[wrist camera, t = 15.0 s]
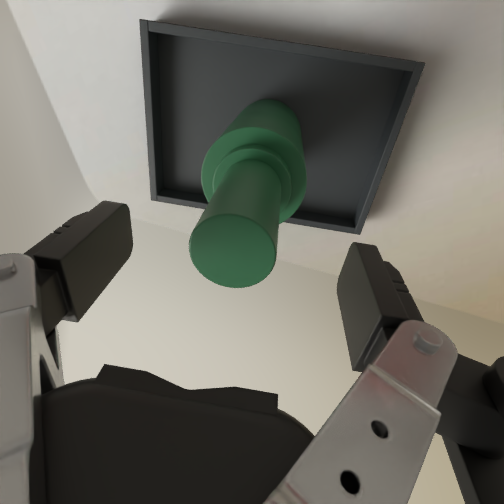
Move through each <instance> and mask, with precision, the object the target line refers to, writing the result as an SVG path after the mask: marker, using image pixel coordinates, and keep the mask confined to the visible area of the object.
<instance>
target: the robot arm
mask: <svg viewBox="0 0 504 504" xmlns="http://www.w3.org/2000/svg"><path fill="white" fill-rule="evenodd" d="M132 248H133V238H132V229H131V220H130V211H129V207H128V206H127V205H126V204H123V203H117V202H111V201H102V202H101V203H99V204H98V205H97V206H96V207H94V208H93V209H92V210H90V211H89V212H85V213H82V214H80V215H77V216H74V217H72V218H71V219H70V220H68V221H67V222H66V223H64V224H63V225H62V227H59V228H58V229H56V230H55V231H54V233H51V234H50V235H48V236H47V237H46V238H44V239H43V240H41V241H40V242H39V243H37V244H36V245H35V246H33V247H32V248H31V249H30V250H28V251H27V252H25V253H24V254H16V253H12V254H11V253H10V254H2V255H0V504H407V503H408V500H409V498H410V495H411V493H412V490H413V488H414V485H415V483H416V480H417V477H418V475H419V472H420V470H421V467H422V465H423V462H424V459H425V457H426V454H427V452H428V449H429V446H430V444H431V441H432V439H433V436H434V434H435V433H437V434H439V435H442V438H443V440H444V444H445V447H446V449H447V452H448V455H449V458H450V461H451V463H452V467H453V470H454V473H455V475H456V478H457V481H458V484H459V487H460V490H461V493H462V496H463V499H464V501H465V504H504V356H503V357H500V358H498V359H497V360H496V361H495V362H494V363H493V364H492V365H491V366H487V365H485V364H483V363H480V362H478V361H475V360H473V359H470V358H468V357H465V356H463V355H460V354H458V353H457V349H456V347H455V345H454V343H453V342H452V341H451V339H450V338H449V337H448V336H447V335H446V334H445V333H443V332H442V331H441V330H439V329H438V328H436V327H434V326H432V325H430V324H428V323H425V322H424V320H423V318H422V316H421V314H420V312H419V310H418V308H417V306H416V304H415V302H414V300H413V298H412V296H411V294H410V293H409V290H408V288H407V286H406V285H405V284H404V283H405V282H404V280H403V278H402V276H401V274H400V272H399V271H398V270H397V269H396V268H395V267H393V266H392V265H391V264H390V263H389V262H386V261H383V259H382V257H381V255H380V253H379V251H378V248H377V247H376V246H375V245H369V244H363V243H357V242H353V243H352V244H351V246H350V248H349V251H348V254H347V256H346V259H345V262H344V264H343V267H342V270H341V272H340V275H339V278H338V283H337V295H338V300H339V305H340V310H341V315H342V320H343V325H344V330H345V335H346V340H347V345H348V350H349V355H350V360H351V365H352V370H353V371H358V372H362V373H361V375H360V376H359V377H358V379H357V380H356V382H355V383H354V384H353V386H352V387H351V388H350V390H349V391H348V392H347V394H346V395H345V396H344V398H343V399H342V401H341V402H340V403H339V405H338V406H337V407H336V409H335V410H334V411H333V413H332V414H331V416H330V417H329V418H328V419H327V421H326V422H325V424H324V425H323V426H322V428H321V429H320V430H319V432H318V433H317V435H316V436H314V435H313V434H312V433H311V432H310V431H309V430H308V429H307V428H306V427H305V426H304V425H303V424H301V423H300V422H299V421H298V420H296V419H295V418H294V417H292V416H290V415H289V414H287V413H286V412H284V411H282V410H280V409H278V408H277V407H278V394H274V393H269V392H263V391H257V390H251V389H245V388H240V387H224V388H211V389H197V390H187V389H184V388H182V387H179V386H177V385H175V384H173V383H171V382H169V381H166V380H164V379H162V378H160V377H158V376H156V375H153V374H151V373H149V372H147V371H141V370H136V369H130V368H124V367H118V366H113V365H107V364H104V366H103V367H102V369H101V371H100V372H99V374H98V376H97V377H96V378H90V379H85V380H80V381H76V382H73V383H69V384H66V385H65V384H64V379H63V370H62V362H61V353H60V344H59V335H58V330H57V327H56V325H57V324H58V323H59V322H60V321H61V320H66V321H72V322H79V320H80V319H81V318H82V317H83V315H84V314H85V313H86V312H87V310H88V309H89V308H90V306H91V305H92V304H93V303H94V301H95V300H96V299H97V298H98V296H99V295H100V294H101V293H102V291H103V290H104V289H105V288H106V286H107V285H108V284H109V283H110V281H111V280H112V279H113V278H114V276H115V275H116V274H117V272H118V271H119V270H120V269H121V267H122V266H123V265H124V264H125V262H126V261H127V260H128V259H129V257H130V255H131V252H132Z"/></svg>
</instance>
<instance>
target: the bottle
mask: <svg viewBox="0 0 504 504" xmlns="http://www.w3.org/2000/svg"><path fill="white" fill-rule="evenodd" d="M201 182H202V188H203V191H204V194H205V197H206V199H207V201H208V202H209V203H208V205H207V207H206V209H205V211H204V212H203V214H202V216H201V218H200V219H199V221H198V223H197V225H196V227H195V228H194V230H193V232H192V234H191V236H190V240H189V252H190V257H191V259H192V262H193V264H194V265H195V267H196V268H197V270H198V271H199V272H200V273H201V274H202V275H203V276H204V277H206V278H207V279H208V280H210V281H212V282H214V283H216V284H218V285H222V286H225V287H231V288H244V287H249V286H252V285H255V284H257V283H259V282H260V281H262V280H263V279H265V278H266V277H267V276H268V275H269V274H270V272H271V271H272V269H273V267H274V265H275V261H276V255H277V242H278V228H279V224H280V223H282V222H284V221H285V220H287V219H288V218H289V217H291V216H292V215H293V214H294V213H295V211H296V210H297V209H298V207H299V206H300V204H301V203H302V200H303V198H304V195H305V192H306V187H307V173H306V165H305V157H304V149H303V142H302V134H301V127H300V123H299V121H298V118H297V117H296V115H295V113H294V112H293V111H292V110H291V109H290V108H289V107H288V106H287V105H285V104H284V103H282V102H280V101H277V100H273V99H263V100H258V101H255V102H253V103H251V104H250V105H248V106H247V107H246V108H245V109H244V110H243V111H242V112H241V113H240V114H239V115H238V116H237V117H236V119H235V120H234V121H233V122H232V123H231V124H230V125H229V126H228V128H227V129H226V130H225V131H224V132H223V133H222V134H221V135H220V137H219V138H218V139H217V140H216V141H215V142H214V143H213V145H212V146H211V147H210V149H209V150H208V152H207V154H206V156H205V158H204V161H203V165H202V171H201Z"/></svg>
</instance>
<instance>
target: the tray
mask: <svg viewBox="0 0 504 504" xmlns="http://www.w3.org/2000/svg"><path fill="white" fill-rule="evenodd" d="M139 21H140V36H141V52H142V68H143V83H144V99H145V114H146V130H147V145H148V161H149V176H150V192H151V200H153V201H159V202H165V203H171V204H177V205H183V206H189V207H195V208H201V209H206V207H207V205H208V203H209V202H208V201H207V199H206V197H205V194H204V191H203V188H202V182H201V171H202V165H203V161H204V158H205V156H206V154H207V152H208V150H209V149H210V147H211V146H212V145H213V143H214V142H215V141H216V140H217V139H218V138H219V137H220V135H221V134H222V133H223V132H224V131H225V130H226V129H227V128H228V126H229V125H230V124H231V123H232V122H233V121H234V120H235V119H236V117H237V116H238V115H239V114H240V113H241V112H242V111H243V110H244V109H245V108H246V107H247V106H248V105H250V104H251V103H253V102H255V101H258V100H263V99H273V100H277V101H280V102H282V103H284V104H285V105H287V106H288V107H289V108H290V109H291V110H292V111H293V112H294V113H295V115H296V117H297V118H298V121H299V123H300V127H301V134H302V142H303V149H304V157H305V165H306V173H307V187H306V192H305V195H304V198H303V200H302V203H301V204H300V206H299V207H298V209H297V210H296V211H295V213H294V214H293V215H292V216H291V217H289V218H288V219H287V220H285V221H284V222H286V223H292V224H298V225H304V226H310V227H316V228H322V229H328V230H334V231H340V232H346V233H352V234H353V233H354V234H359V235H360V234H361V231H362V228H363V226H364V223H365V220H366V218H367V215H368V213H369V210H370V207H371V205H372V202H373V199H374V197H375V194H376V192H377V189H378V186H379V184H380V181H381V178H382V176H383V173H384V171H385V168H386V165H387V163H388V160H389V157H390V155H391V152H392V150H393V147H394V144H395V142H396V139H397V136H398V134H399V131H400V129H401V126H402V123H403V121H404V118H405V115H406V113H407V110H408V108H409V105H410V102H411V100H412V97H413V94H414V92H415V89H416V87H417V84H418V81H419V79H420V76H421V73H422V71H423V68H424V66H425V63H424V62H418V61H411V60H405V59H398V58H391V57H385V56H378V55H372V54H365V53H359V52H352V51H346V50H339V49H333V48H326V47H320V46H313V45H307V44H300V43H294V42H287V41H280V40H274V39H267V38H261V37H254V36H248V35H241V34H235V33H228V32H222V31H215V30H209V29H202V28H196V27H189V26H183V25H176V24H169V23H163V22H156V21H150V20H143V19H140V20H139Z"/></svg>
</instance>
